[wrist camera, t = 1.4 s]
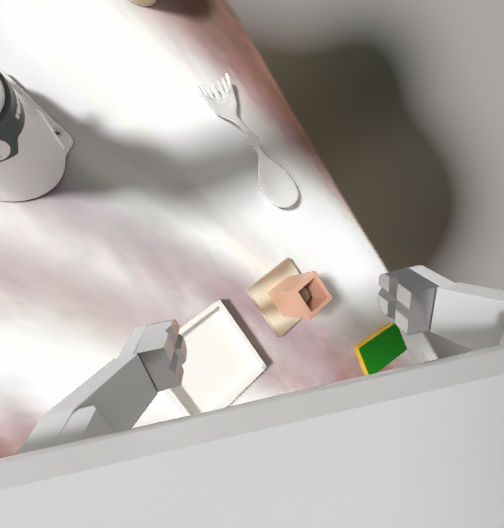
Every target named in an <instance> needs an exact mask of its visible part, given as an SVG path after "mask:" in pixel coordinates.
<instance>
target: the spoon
mask: <svg viewBox="0 0 504 528" xmlns="http://www.w3.org/2000/svg"><path fill="white" fill-rule="evenodd" d="M226 80H227V83H228V86H227V84H226V82H225V81H224V79H223V78H222V83H223V86H224V89H225V91H224V89H223V87H222V85H221V83H220V82H219V80H217V81H218V85H219V89H220V92H221V95H222V96H221V95H220V93H219V92H218V90H217V88H216V87H215V85H214V84H213V83H212V89H213V92H214V95H215V97H214V95H213V94H212V92H211V90H210V89H209V87H208V85H207V84H206V88H207V91H208V93H209V94H208V93H207V91H206V90H205V88H204V86H203V85H202V84H201V87H202V90H203V92H204V93H203V92H202V90H201V89H200V87H199V86H198V85H197V84H195V86H196V89H197V91H198V93H199V94H200V95H201V97H202V98H203V99H204V100H205V102H206V103H207V104H208V106H209V107H210V108H211V109H212V110H213V111H214V112H215V113H216V114H217V115H219V116H221V117H223V118H225V119H227V120H230V121H232V122H233V123H235V124H236V125H238V126H239V127H240V128H241V129H242V130H243V132H244V133H245V135H246V137H247V144H248V145H252V146H253V147H254V148H255V149H256V152H257V154H258V183H259V186H260V188H261V190H262V192H263V194H264V195H265V197H266V198H267V199H268V200H269V201H270V202H271V203H273V204H274V205H276V206H278V207H281V208H288V207H290V206H292V205H294V204H295V203H296V202H297V200H298V197H299V192H298V188H297V186H296V184H295V182H294V180H293V179H292V178H291V176H290V175H289V174H288V173H287V172H286V170H285V169H284V168H282V167H281V166H280V165H279V164H277V163H276V162H274V161H273V160H271V159H270V158H268V157H267V156H266V155H265V154H264V153H263V152H262V150H261V149H260V147H259V145H258V143H257V142H258V137H257V136H254V135H253V134H252V133H251V132H250V131H249V129H248V128H247V126H246V125H245V124H244V123H243V122H242V121H241V120H240V119H239V117H238V116H237V100H236V97H235V94H234V90H233V87H232V83H231V80H230V77H229V75H228V74H227V73H226ZM228 87H229V88H228Z"/></svg>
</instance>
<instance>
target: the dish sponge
mask: <svg viewBox="0 0 504 528" xmlns="http://www.w3.org/2000/svg"><path fill="white" fill-rule="evenodd" d="M354 350H355V353H356V355H357V358H358V360H359V363H360V365H361V368H362V371H363V373H364V374H366V375H370V374H374V373H377V372H378V371H379V370H381V369H382V368H383V367H385V366H386V365H387V364H389V363H390V362H391V361H392V360H394V359H395V358H396V357H398V356H399V355H400V354H402V353H403V352H404V351H405V350H406V346H405V343H404V341H403V338H402V335H401V333H400V330H399V328H398V326H397V325H396V324H393V323H389V324H387V325H386V326H384V327H383V328H381V329H380V330H378V331H377V332H375V333H374V334H372V335H371V336H369V337H368V338H366V339H365V340H363V341H362V342H360V343H359V344H357V345H356V346H354Z"/></svg>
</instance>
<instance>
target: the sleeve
mask: <svg viewBox="0 0 504 528" xmlns="http://www.w3.org/2000/svg"><path fill="white" fill-rule="evenodd" d="M302 288H306V289H308V291H309V293H310V298H309V300H308V301H307V302H306V303H305V302H304V300H303V299H302V297H301V296H300V294H299V293H298V291H299V290H300V289H302ZM267 294H268V295H269V297H270V298H271V299H272V301H273V302H274V304H275V305H276V307H277V308H278V310H279V311H280V313H281V314H282V316H284V317H293V318H303V319H312V318H313V317H314V316H315V315H316V314H317V313H318V312H319V311H320V310H321V309H322V308H323V307H325V306H326V305H327V304H328V303H329V302H330V301H331V300H332V299H333V298H332V296H331V294H330V293H329V291H328V290H327V288H326V287H325V285H324V284H323V282H322V281H321V279H320V278H319V276H318V275H317V273H316V271H312V272H307V273H302V274H297V275H293V276H288V277H286V278H285V279H284V280H282V281H281V282H280V283H279V284H278V285H276V286H275V287H274V288H273V289H271V290H270V291H269V292H268V293H267Z"/></svg>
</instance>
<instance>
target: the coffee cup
mask: <svg viewBox="0 0 504 528" xmlns="http://www.w3.org/2000/svg"><path fill="white" fill-rule="evenodd" d="M129 1H131V2H132V3H134V4H137V5H139V6H144V7H147V6H152V5H153V4H155V2H156V0H129Z"/></svg>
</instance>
